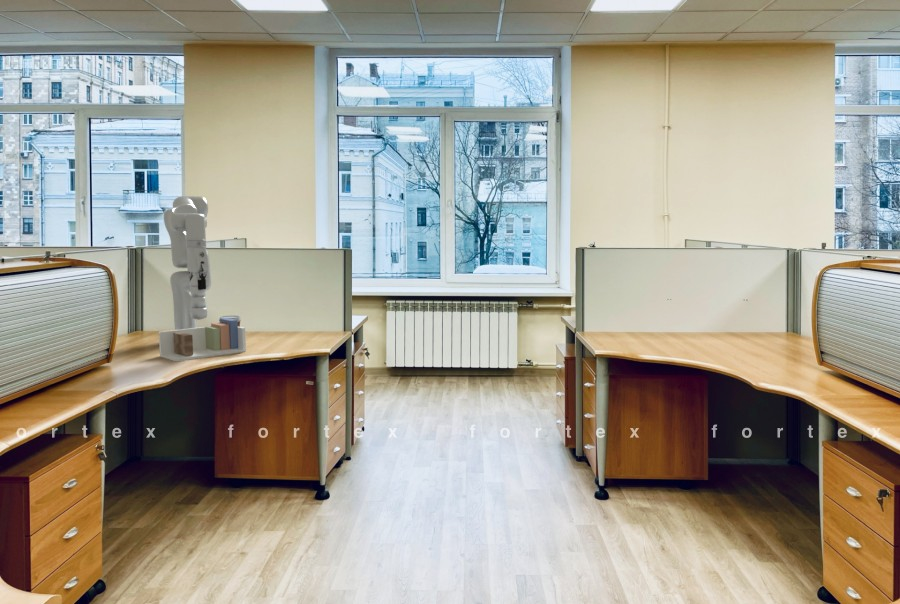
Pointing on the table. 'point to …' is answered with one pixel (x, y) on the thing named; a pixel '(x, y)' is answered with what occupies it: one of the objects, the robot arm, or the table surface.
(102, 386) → the table surface
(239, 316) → the disposable coffee cup
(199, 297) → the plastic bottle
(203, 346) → the shelf
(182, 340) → the bookend
